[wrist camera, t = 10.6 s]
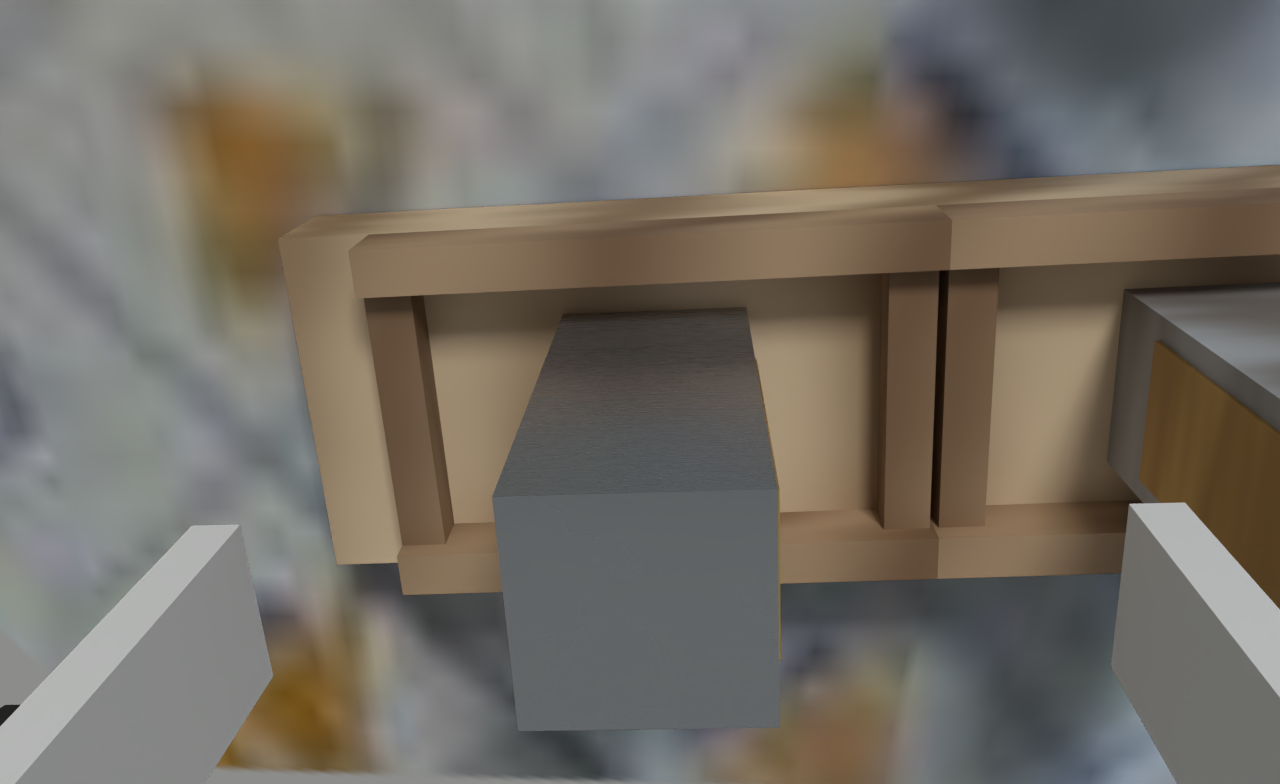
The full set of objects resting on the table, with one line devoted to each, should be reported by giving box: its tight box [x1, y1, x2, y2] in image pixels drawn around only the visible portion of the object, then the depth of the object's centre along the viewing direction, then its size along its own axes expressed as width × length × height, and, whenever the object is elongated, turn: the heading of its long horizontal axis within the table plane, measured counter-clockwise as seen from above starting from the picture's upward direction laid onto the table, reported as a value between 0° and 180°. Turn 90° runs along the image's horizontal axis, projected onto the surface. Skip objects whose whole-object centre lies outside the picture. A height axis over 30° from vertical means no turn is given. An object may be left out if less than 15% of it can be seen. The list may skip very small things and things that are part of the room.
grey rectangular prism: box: [492, 307, 781, 731], centre depth 20 cm, size 4×4×9 cm
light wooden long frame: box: [278, 165, 1280, 609], centre depth 21 cm, size 28×8×12 cm, turn 93°
